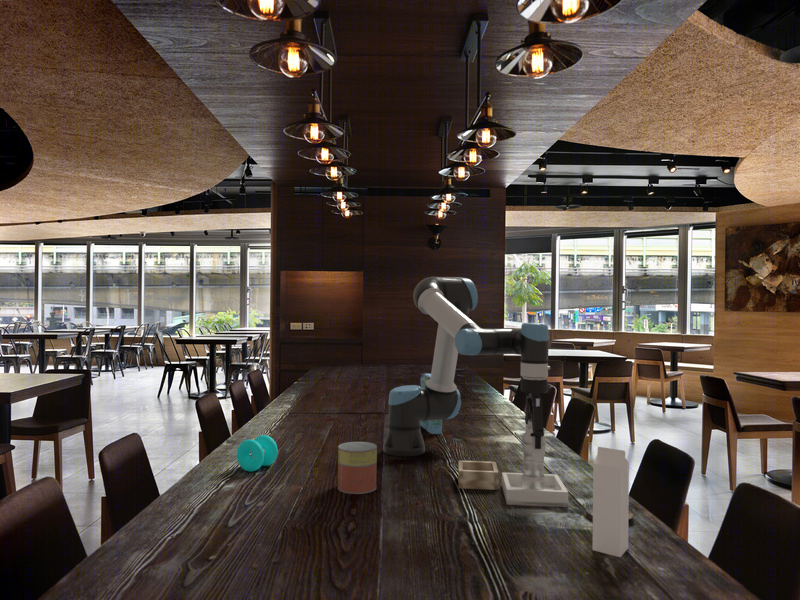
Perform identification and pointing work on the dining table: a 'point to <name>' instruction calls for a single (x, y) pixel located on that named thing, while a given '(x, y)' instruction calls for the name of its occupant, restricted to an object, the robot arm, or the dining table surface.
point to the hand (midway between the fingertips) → (533, 454)
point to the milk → (610, 501)
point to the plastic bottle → (532, 463)
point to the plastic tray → (534, 491)
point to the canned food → (357, 467)
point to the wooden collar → (478, 475)
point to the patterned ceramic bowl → (590, 513)
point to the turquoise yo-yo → (257, 453)
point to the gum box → (434, 425)
